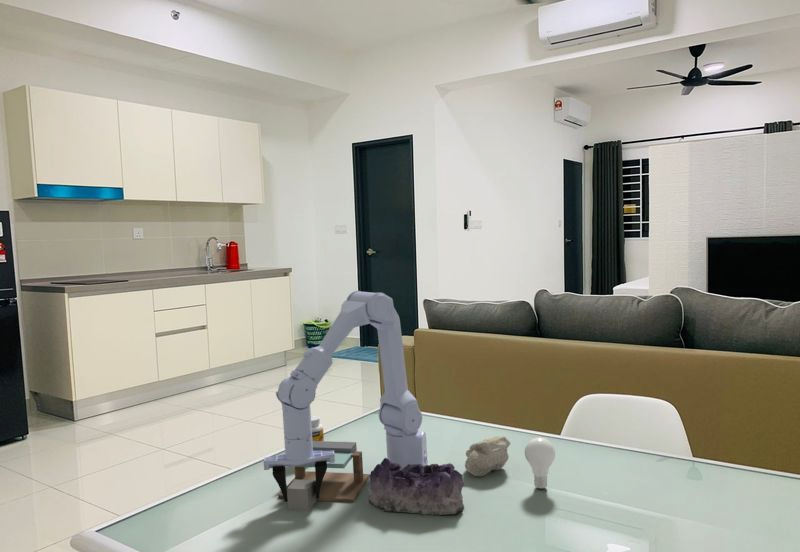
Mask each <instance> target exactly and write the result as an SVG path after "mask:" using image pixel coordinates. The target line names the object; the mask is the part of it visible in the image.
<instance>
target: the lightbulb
mask: <svg viewBox="0 0 800 552" xmlns="http://www.w3.org/2000/svg"><path fill="white" fill-rule="evenodd" d="M524 456H525V457H524V458H525V459H526V461H527V462H528V464H529V466H530V467H531V470H532V474H533V477H534V487H535V488H538V489H539V490H544V489H545V488H547V487H548V474H549V471H550V467H551V466H552V464H553V463H554V461H555V458H556V450H555V447H554V445H553V444H552V442H551V441H549V439H547V438H544V437H540V436H538V437H534V438H532V439H530V440H529V441H528V442H527V443H526V445H525V447H524Z"/></svg>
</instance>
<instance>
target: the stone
mask: <svg viewBox="0 0 800 552" xmlns="http://www.w3.org/2000/svg"><path fill="white" fill-rule="evenodd" d="M287 500H288V502H287V509H288V510H289V511H305V512H306V511H307V512H309V511H310V510H311V508H312V507H313V506H314V504H315V503H316V502H317V500H316V491H315V480H297V479H295V480H294V481H293V482H292V483H291V484H290V486H289V487H288V488H287Z"/></svg>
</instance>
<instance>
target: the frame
mask: <svg viewBox="0 0 800 552" xmlns="http://www.w3.org/2000/svg"><path fill="white" fill-rule="evenodd" d="M363 465H364V464H363V451H358V450H357V451H355V453H354V454H353V457H352V466H353V467H352V470H353V472H352V473H351V472H348V473H347V472H332V471H331V472H329V471H326V473H325V475H324V478H323V480H322V484H321V488H320V494H319V499H316V501H326V502H343V503H354V502H355V501H356V500H357V498H358V496H359V495H360V493H361V492H362V490H363V488H364V487H365V485H366V483H367V482H368V480H370V474H371V473H364V468H363V467H364V466H363ZM293 467H294V477H293V479H291V481H290V482H289V483H288V484H286V485H287V488H288V487H289V486H290V484H291V483H292V482H293V481H294V480H295V479H297V480H315V487H316V474H315V471H306V467H296V466H293ZM277 498H278V499H284V498H283V494H282V492H281V491H280V493H279V494H278V497H277Z"/></svg>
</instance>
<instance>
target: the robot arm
mask: <svg viewBox="0 0 800 552" xmlns="http://www.w3.org/2000/svg"><path fill="white" fill-rule="evenodd" d="M394 306H395V305H394V300H393V298H392V297H390V296H389V295H387V294H385V293H384V292H369V291H361V290H354V291H352V292H350V293H349V295H348V296H347V298H346V300H344V301H343V302H342V304H341V307H340V312H339V314H338V315H337V316H336V318H335V320H334V321H333V323H332V325H331V327H330V328H329V329H328V331H327V332H326V334H325V336H324V337H323V339H322V340H321V342H320V344H319V345H318V346H315V347H313V346H312V347H310V348H309V350H305V352H304V353H303V354H302V355H303V358H302V359H301V361H300V362H299V363H298V365H297V366H296V367H295V369H294V370H292V371H291V372H290V376H287V378H284V379H283V380H281V382H280V384H279V385H278V388H277V391H276V392H275V396H276V398H277V400H278V401H279V402H280V403H281V409H282V421H283V423H282V425H283V437H284V438H283V440H284V453H282V454H278V455H274V456H269V457H267V456H266V457H264V458H263V471H268V470H270V469H272V476H273V479H274V480H275V481H276V483H277V485H278V487H279V488H280V493H281V492H282V494H283V498H282V499H283V503H288V500H287V485H288V484H287V473H286V469H287V468H286V467H294V466H296V465H306V464H315V467H314V472H315V474H316V487H315V491H316V499H319V494H320V488H321V484H322V480H323V478H324V475H325V473H326V472H327V470H328V468H327V462H330V463H335V454H334V451H313V443H312V427H311V416H312V414H311V413H312V412H311V404H312V403H314V401H315V399H316V394H317V392H316V390H317V389H318V385H319V383H320V382H321V381H322V380H323V378H324V377H325V375H326V373H327V372H328V370H329V369H330V368H331V366H332V365H333V354H334V353H335V352H336V351H337V349H338V348H339V346H340V345H341V344H342V343H343V342H344V341H345V340H346V339H347V337H348V336H349V334H350V333H351V332H352V331H353V330H354V328H358V327H362V326H365V325H369V324H370V325H371V326H373V327H374V328H375V329H376V330H377V337H378V347H379V355H380V362H381V370H382V379H383V386H384V394H382V395H381V397H380V398H379V403H380V405H379V409H378V419H379V421H380V423H381V424H382V425H383V427H384V430H385V439H386V440H385V442H386V458H387V459H388V460H389V461H391V462H392V463H394V462H396V463H399V464H400V465H401V467H402V468H404V467H406V466H407V465H408V464H410V465H412V464H413V465H415V464H421V465H423V466H425V465H428V462H429V460H428V451H427V449H428V448H427V447H428V445H427V444H428V443H427V435H426V434H427V433H426V431H422V430H419V429H420V428H421V425H422V422H423V413H422V411H421V409H420V408H419V405H418V400H417V399H416V397H415V396H414V395H413V394H412V393H411V391H410V390H409V387H408V386H409V385H408V378H407V377H408V376H407V369H406V361H405V352H404V344H403V335H402V327H401V320H400V319H401V318H400V316H399V314H398V312H397V309H395V307H394Z"/></svg>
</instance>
